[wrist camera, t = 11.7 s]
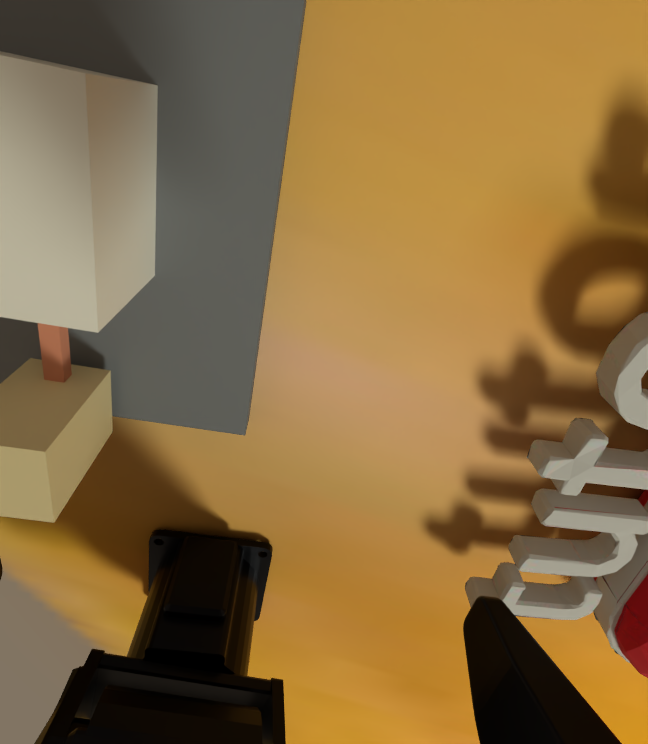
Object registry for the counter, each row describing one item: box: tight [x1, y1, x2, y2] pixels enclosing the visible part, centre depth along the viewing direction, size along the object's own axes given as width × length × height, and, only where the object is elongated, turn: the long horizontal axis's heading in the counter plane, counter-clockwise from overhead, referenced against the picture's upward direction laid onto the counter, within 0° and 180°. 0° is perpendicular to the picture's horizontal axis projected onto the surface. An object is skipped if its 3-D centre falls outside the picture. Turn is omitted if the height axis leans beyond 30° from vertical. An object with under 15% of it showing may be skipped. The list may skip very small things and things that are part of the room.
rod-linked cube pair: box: [0, 51, 158, 523], centre depth 14 cm, size 13×6×6 cm, turn 169°
